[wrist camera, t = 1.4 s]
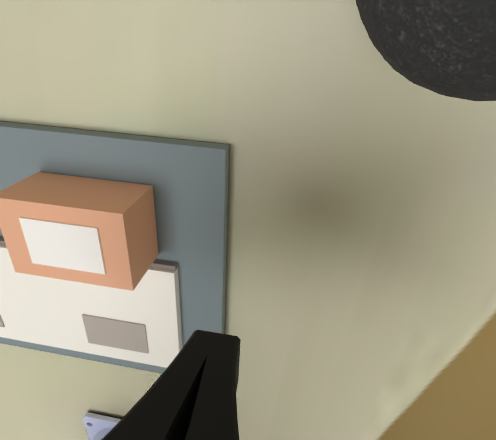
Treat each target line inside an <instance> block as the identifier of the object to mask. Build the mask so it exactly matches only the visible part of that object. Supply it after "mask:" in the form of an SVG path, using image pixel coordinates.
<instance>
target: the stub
mask: <svg viewBox="0 0 496 440" xmlns="http://www.w3.org/2000/svg"><path fill="white" fill-rule="evenodd" d="M0 229H1V232H2V235H3V237H4V240H5V243H6V246H7V249H8V252H9V255H10V258H11V261H12V264H13V267H14V270H15V272H18V273H24V274H30V275H37V276H43V277H49V278H55V279H62V280H68V281H74V282H81V283H87V284H93V285H99V286H106V287H112V288H118V289H125V290H131V291H134V289H135V288H136V286H137V285H138V283H139V282H140V281H141V279H142V278H143V276H144V275H145V273H146V272H147V271H148V269H149V268H150V266H151V265H152V263H153V262H154V261H155V259H156V258H157V256H158V255H159V252H158V241H157V230H156V218H155V207H154V196H153V185H144V184H136V183H127V182H119V181H111V180H102V179H94V178H86V177H77V176H69V175H60V174H52V173H44V172H37V173H35V174H33V175H31V176H29V177H27V178H25V179H23V180H21V181H19V182H17V183H15V184H13V185H12V186H10V187H8V188H6V189H4V190H2V191H0Z"/></svg>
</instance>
